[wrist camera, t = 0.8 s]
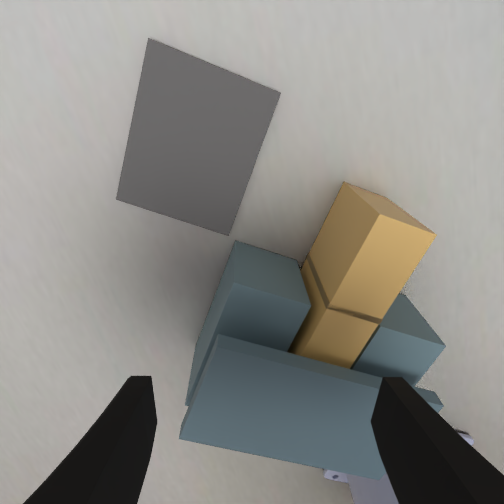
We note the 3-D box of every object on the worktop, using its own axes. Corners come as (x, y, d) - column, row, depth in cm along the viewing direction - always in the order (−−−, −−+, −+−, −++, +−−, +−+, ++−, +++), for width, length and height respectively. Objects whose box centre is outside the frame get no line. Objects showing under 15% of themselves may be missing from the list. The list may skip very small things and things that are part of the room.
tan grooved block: (388, 198, 18) (437, 235, 13) (316, 327, 21) (336, 390, 17) (342, 181, 17) (378, 213, 13) (277, 315, 21) (287, 377, 16)
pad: (279, 92, 15) (280, 93, 15) (228, 233, 18) (228, 235, 18) (150, 39, 14) (148, 37, 14) (118, 197, 17) (115, 199, 17)
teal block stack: (405, 295, 20) (469, 375, 15) (345, 385, 24) (379, 480, 18) (235, 240, 19) (232, 308, 13) (195, 346, 22) (179, 438, 16)
